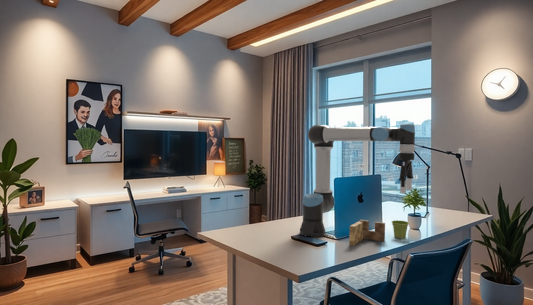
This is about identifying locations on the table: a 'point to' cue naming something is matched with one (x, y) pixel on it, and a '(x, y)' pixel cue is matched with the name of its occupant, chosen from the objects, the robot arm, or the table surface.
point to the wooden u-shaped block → (374, 235)
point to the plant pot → (400, 228)
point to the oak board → (356, 233)
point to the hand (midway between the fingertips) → (406, 191)
